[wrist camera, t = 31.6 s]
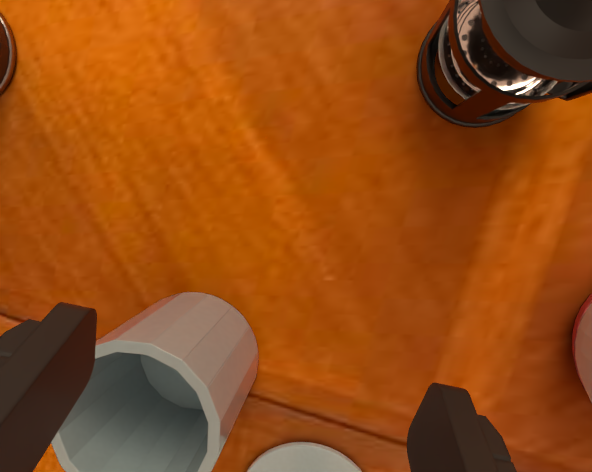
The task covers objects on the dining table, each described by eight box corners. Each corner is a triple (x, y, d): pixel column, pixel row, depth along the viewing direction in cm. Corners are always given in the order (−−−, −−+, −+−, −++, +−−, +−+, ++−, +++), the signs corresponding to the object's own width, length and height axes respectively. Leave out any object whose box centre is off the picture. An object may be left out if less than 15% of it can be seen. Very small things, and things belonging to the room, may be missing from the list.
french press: (389, 98, 37) (454, -28, 14) (439, -19, 35) (602, -371, 13) (527, 154, 36) (828, 115, 13) (584, 37, 35) (1032, -228, 12)
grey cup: (134, 406, 43) (48, 499, 31) (135, 286, 41) (45, 332, 29) (255, 421, 42) (216, 523, 29) (261, 297, 40) (222, 350, 28)
